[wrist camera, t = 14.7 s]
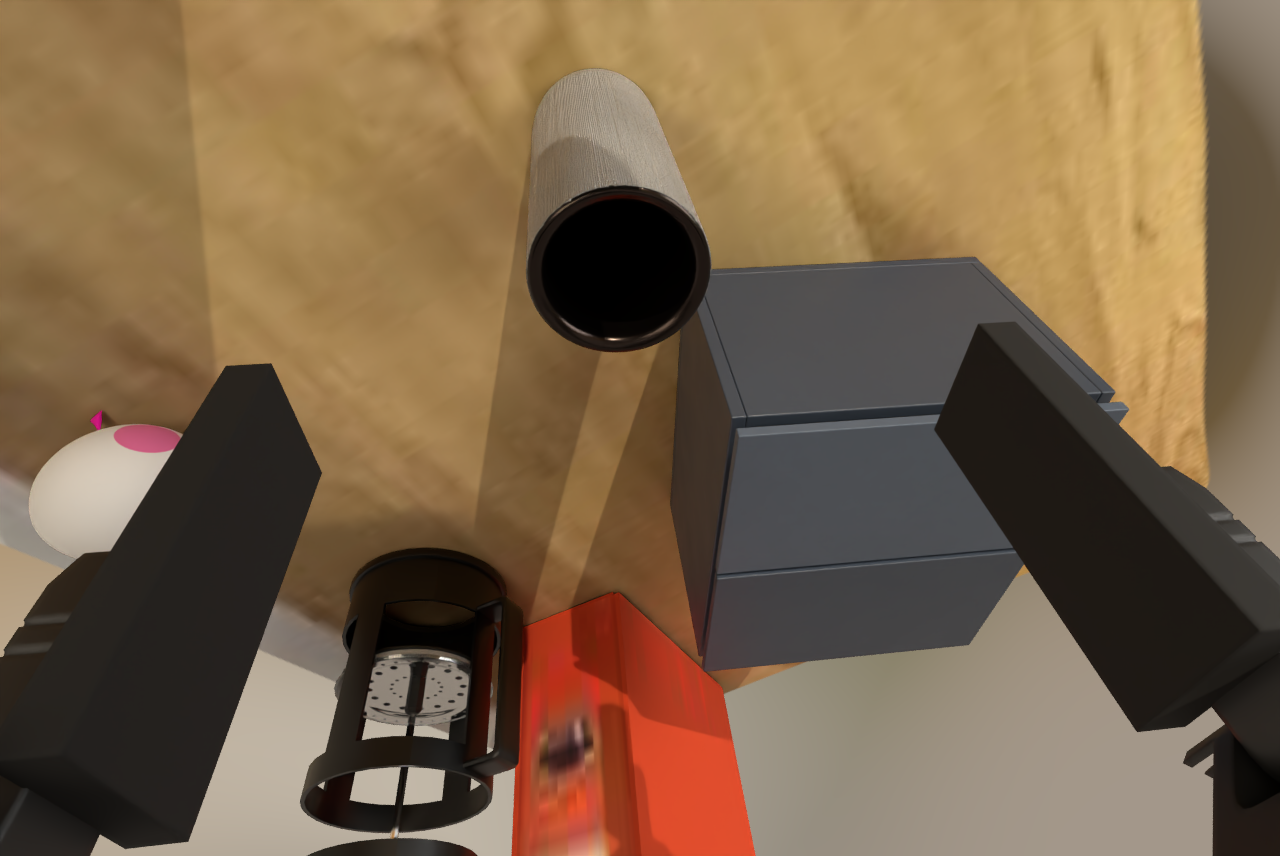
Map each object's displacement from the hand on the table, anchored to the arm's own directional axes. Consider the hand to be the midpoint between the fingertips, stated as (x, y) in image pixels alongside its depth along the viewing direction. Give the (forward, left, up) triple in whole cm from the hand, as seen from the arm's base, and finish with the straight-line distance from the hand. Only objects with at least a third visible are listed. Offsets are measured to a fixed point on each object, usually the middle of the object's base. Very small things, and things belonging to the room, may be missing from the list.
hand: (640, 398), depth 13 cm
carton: (+13, +10, -15) cm, 22 cm away
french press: (+27, -11, -15) cm, 33 cm away
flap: (+9, +10, -5) cm, 14 cm away
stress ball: (+14, -21, -15) cm, 29 cm away
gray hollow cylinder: (0, 0, -15) cm, 15 cm away
